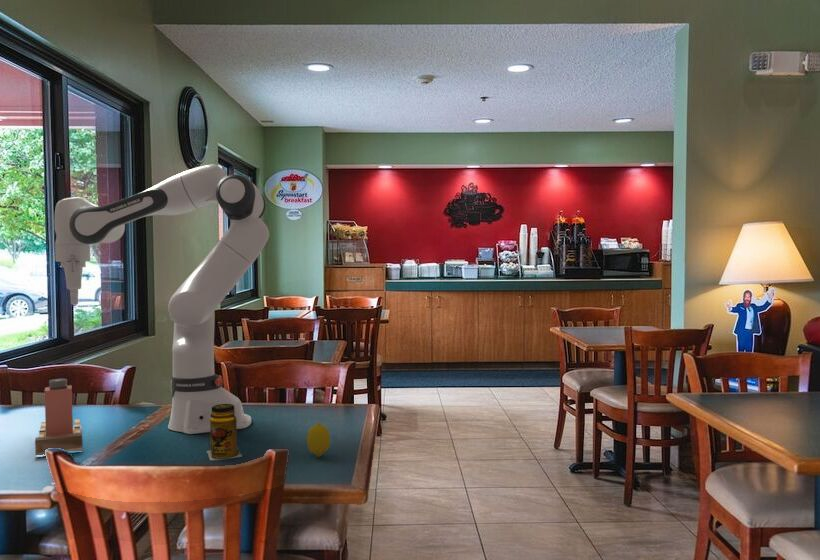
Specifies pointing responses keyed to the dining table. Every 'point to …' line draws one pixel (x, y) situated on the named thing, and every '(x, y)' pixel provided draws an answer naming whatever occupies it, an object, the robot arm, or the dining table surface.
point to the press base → (59, 440)
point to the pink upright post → (58, 408)
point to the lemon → (318, 439)
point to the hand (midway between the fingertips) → (74, 304)
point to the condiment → (223, 433)
